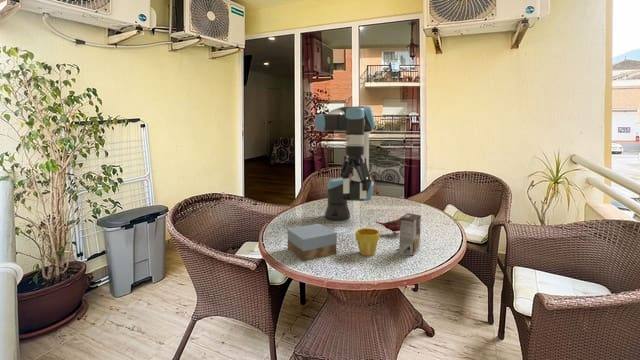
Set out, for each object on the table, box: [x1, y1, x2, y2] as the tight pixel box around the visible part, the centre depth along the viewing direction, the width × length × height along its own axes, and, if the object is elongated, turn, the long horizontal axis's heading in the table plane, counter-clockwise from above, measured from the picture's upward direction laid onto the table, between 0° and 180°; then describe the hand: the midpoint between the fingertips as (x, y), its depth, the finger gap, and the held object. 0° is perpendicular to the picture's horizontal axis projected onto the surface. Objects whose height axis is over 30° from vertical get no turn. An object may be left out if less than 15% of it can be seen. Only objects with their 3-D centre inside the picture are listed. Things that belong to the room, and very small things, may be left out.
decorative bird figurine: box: [375, 215, 404, 235], centre depth 174 cm, size 3×18×10 cm, turn 80°
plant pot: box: [354, 227, 380, 257], centre depth 150 cm, size 10×10×10 cm
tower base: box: [287, 239, 337, 262], centre depth 153 cm, size 16×16×5 cm
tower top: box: [287, 223, 338, 251], centre depth 152 cm, size 16×16×5 cm
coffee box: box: [398, 212, 422, 256], centre depth 151 cm, size 9×6×16 cm
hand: (354, 195), depth 146 cm, fingers open, 13 cm apart
